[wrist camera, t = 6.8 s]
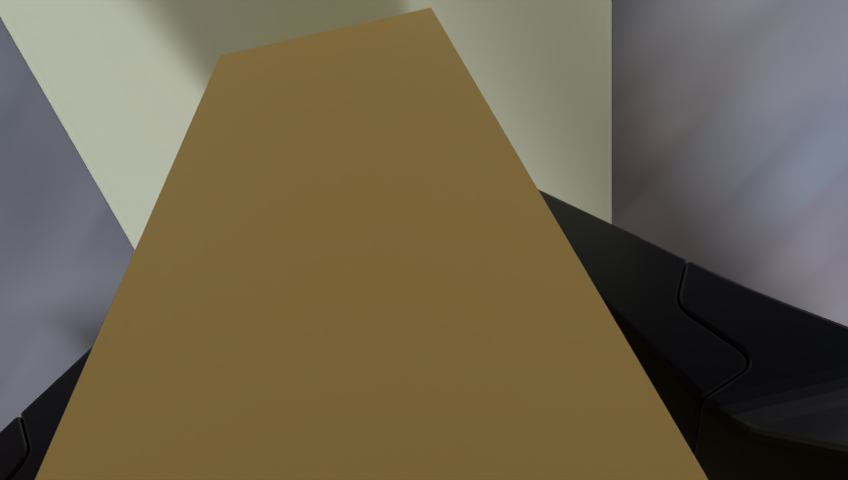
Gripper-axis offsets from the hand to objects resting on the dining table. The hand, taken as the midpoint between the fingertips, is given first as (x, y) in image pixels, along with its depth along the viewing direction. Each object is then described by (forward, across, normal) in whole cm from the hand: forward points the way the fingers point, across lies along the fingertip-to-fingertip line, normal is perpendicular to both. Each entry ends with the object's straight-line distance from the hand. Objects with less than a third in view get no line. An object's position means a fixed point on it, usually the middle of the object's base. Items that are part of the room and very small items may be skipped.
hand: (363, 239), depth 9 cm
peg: (+4, 0, 0) cm, 4 cm away
